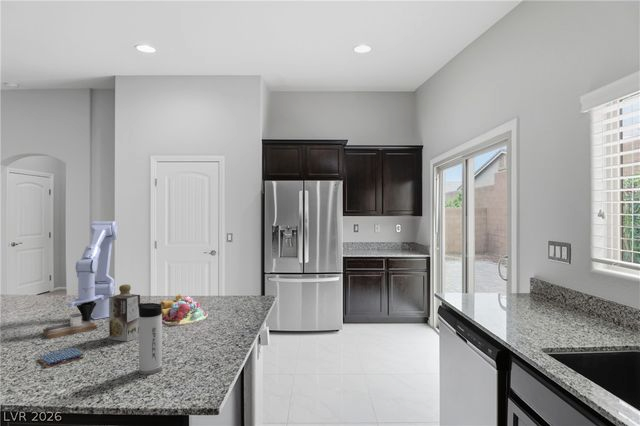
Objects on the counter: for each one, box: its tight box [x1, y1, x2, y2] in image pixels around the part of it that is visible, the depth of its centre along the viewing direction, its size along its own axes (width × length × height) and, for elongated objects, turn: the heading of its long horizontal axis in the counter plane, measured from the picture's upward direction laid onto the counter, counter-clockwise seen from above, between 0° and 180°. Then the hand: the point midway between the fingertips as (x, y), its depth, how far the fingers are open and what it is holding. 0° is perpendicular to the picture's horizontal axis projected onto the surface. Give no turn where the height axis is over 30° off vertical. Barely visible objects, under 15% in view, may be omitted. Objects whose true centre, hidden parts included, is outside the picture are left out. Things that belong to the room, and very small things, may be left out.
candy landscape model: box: [158, 294, 209, 326], centre depth 163 cm, size 25×24×9 cm
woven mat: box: [38, 346, 85, 368], centre depth 115 cm, size 10×11×2 cm
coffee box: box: [108, 293, 141, 342], centre depth 135 cm, size 9×6×16 cm
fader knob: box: [69, 312, 83, 326], centre depth 144 cm, size 3×4×4 cm
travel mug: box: [138, 302, 163, 375], centre depth 107 cm, size 6×7×20 cm
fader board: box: [42, 320, 98, 340], centre depth 143 cm, size 16×10×2 cm, turn 137°
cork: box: [118, 284, 132, 294], centre depth 182 cm, size 6×6×11 cm
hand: (86, 320), depth 147 cm, fingers closed
